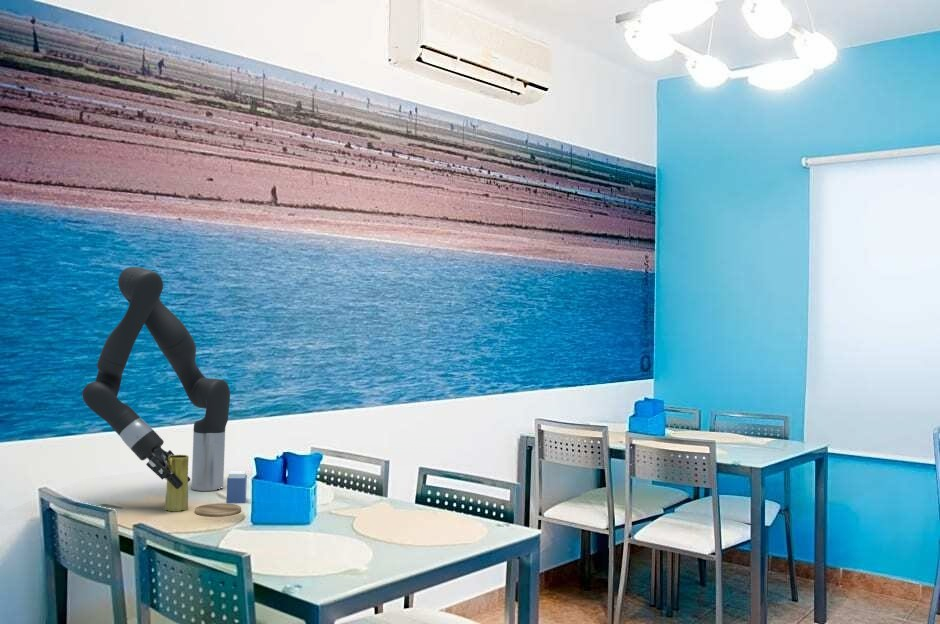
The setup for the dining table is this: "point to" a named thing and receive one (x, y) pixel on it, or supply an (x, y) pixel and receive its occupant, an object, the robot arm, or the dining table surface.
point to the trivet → (217, 509)
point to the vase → (179, 497)
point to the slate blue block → (236, 487)
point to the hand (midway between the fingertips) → (184, 484)
